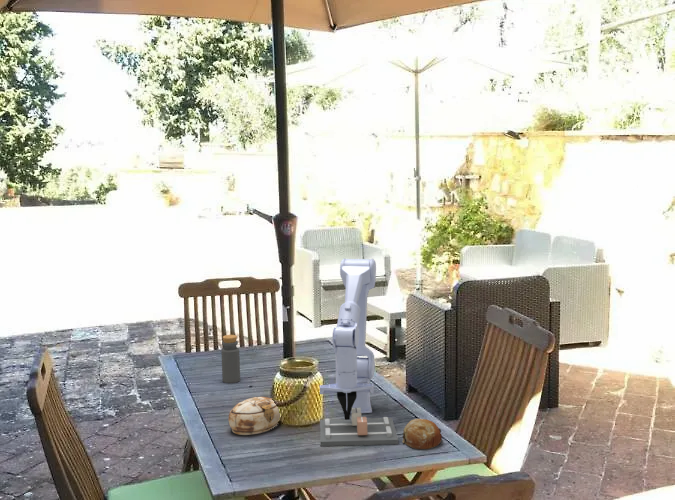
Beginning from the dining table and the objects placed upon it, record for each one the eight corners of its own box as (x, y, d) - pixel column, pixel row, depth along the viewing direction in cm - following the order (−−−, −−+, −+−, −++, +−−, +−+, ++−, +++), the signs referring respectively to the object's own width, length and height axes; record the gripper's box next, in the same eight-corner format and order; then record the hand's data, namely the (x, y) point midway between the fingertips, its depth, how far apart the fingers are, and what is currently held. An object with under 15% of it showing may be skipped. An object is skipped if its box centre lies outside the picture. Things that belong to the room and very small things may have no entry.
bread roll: (402, 450, 203) (390, 426, 201) (433, 429, 206) (422, 405, 204) (419, 464, 194) (407, 439, 192) (452, 442, 197) (440, 417, 194)
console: (320, 423, 213) (319, 416, 213) (392, 421, 214) (391, 414, 213) (320, 446, 197) (320, 438, 197) (398, 444, 198) (398, 435, 197)
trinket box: (224, 436, 206) (223, 408, 204) (238, 416, 220) (237, 390, 219) (273, 438, 204) (272, 409, 203) (284, 418, 219) (284, 391, 217)
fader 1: (351, 420, 211) (351, 407, 210) (360, 420, 211) (360, 407, 210) (352, 425, 207) (352, 412, 206) (361, 425, 207) (361, 412, 206)
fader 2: (356, 429, 204) (356, 416, 203) (366, 429, 204) (366, 416, 203) (357, 435, 200) (357, 421, 199) (367, 435, 200) (367, 421, 199)
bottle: (238, 383, 251) (237, 338, 249) (221, 383, 251) (219, 338, 249) (241, 377, 257) (239, 334, 255) (224, 378, 257) (222, 334, 255)
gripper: (319, 375, 202) (320, 424, 204) (374, 373, 203) (374, 423, 205) (319, 367, 209) (320, 415, 211) (372, 366, 210) (373, 413, 212)
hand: (347, 418), depth 208 cm, fingers closed
